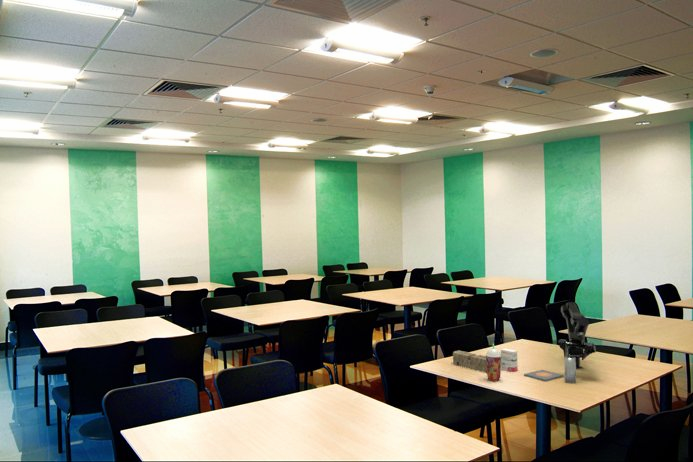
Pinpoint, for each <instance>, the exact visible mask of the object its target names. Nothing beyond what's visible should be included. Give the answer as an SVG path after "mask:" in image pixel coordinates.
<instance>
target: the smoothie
mask: <svg viewBox="0 0 693 462" xmlns="http://www.w3.org/2000/svg"><path fill="white" fill-rule="evenodd" d="M485 356H486V365H487V373H486V376H487V380H488V381H490V382H498V381H500V379H501V371H502V369H501V351H499V350H498V349H497V348H495V343H492V348H489V349H488V350H487V351H486V353H485Z"/></svg>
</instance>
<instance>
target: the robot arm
mask: <svg viewBox="0 0 693 462" xmlns="http://www.w3.org/2000/svg"><path fill="white" fill-rule="evenodd" d="M560 312H561V314H562V318H564V319H565V321H566V326H567V327H566V328H567V333H568V339H569V342H568V341H567V339H562V338H561V339H558V341H557V344H558V346H559V349H561V350H562V351H563V357H564V359H565V357H567V356H570V357H575V358H576V370H577V369H581V368H583V366H582V365H581V361H584V360H585V359H586V358H587V357H588V356H590V355H592V354H593V353H594V354H595V353H596V351H597V349H596V345H595V343H594V342H589V341H588V342H586V343H585V344H584V342H585V338H586V334H587V330H588V327H589V325H590V320H589V319H588V318H586V317H585V315H584V314H582V313H580V311H579V309H578V306H577V303H576V302H567V303H565V304H563V305H561V307H560Z"/></svg>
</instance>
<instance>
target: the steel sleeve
mask: <svg viewBox="0 0 693 462" xmlns="http://www.w3.org/2000/svg"><path fill="white" fill-rule="evenodd" d="M564 382H565V383H568V384H576V383H577V369H576V358H575V357H570V356H566V357H565V358H564Z"/></svg>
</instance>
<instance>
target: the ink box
mask: <svg viewBox="0 0 693 462" xmlns="http://www.w3.org/2000/svg"><path fill="white" fill-rule="evenodd" d="M500 354H501V371H502V370H503V371H506V372H507V371H508V372H510V373H514V372H517V371H518V367H519V366H518V350H514V349H509V348H502V349H500Z"/></svg>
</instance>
